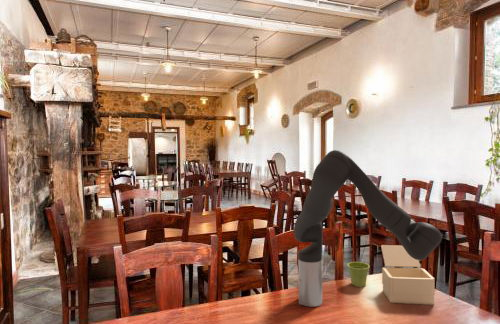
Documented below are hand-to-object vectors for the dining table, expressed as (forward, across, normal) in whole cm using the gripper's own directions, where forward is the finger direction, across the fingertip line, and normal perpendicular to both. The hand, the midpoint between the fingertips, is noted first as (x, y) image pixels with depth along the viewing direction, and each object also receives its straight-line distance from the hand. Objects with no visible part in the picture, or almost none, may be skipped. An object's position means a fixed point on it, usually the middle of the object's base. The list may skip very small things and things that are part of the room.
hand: (389, 218), depth 131 cm
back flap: (+15, +9, -24) cm, 29 cm away
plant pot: (+21, -8, -34) cm, 41 cm away
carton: (+9, +9, -34) cm, 36 cm away
